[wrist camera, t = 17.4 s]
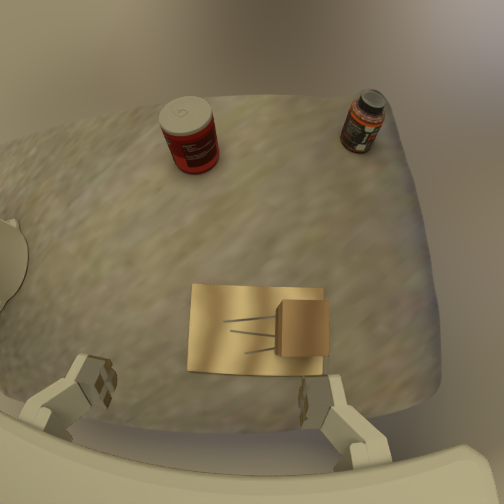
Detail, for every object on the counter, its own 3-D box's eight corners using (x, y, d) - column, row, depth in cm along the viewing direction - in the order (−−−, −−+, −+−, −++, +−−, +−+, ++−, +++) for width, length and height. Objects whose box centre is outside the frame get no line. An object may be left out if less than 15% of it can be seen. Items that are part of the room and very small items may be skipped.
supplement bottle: (366, 159, 49) (387, 118, 38) (335, 145, 49) (351, 101, 39) (373, 137, 50) (393, 96, 39) (344, 124, 51) (359, 81, 40)
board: (189, 369, 39) (187, 370, 37) (194, 285, 42) (192, 283, 41) (320, 374, 38) (322, 375, 37) (321, 289, 42) (323, 287, 41)
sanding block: (274, 354, 38) (281, 356, 29) (275, 309, 40) (282, 299, 31) (311, 354, 38) (328, 356, 29) (312, 310, 40) (329, 300, 31)
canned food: (186, 135, 50) (174, 92, 40) (227, 145, 50) (221, 100, 39) (166, 168, 48) (148, 127, 38) (208, 180, 47) (197, 138, 37)
